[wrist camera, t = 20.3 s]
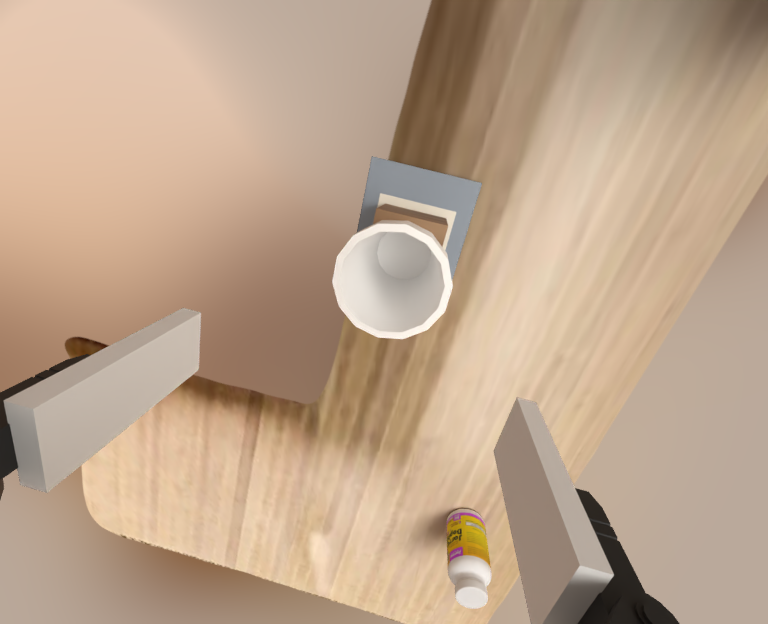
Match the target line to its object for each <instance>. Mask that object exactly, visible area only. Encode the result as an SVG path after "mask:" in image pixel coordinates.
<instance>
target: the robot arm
mask: <svg viewBox="0 0 768 624" xmlns="http://www.w3.org/2000/svg"><path fill="white" fill-rule="evenodd" d="M200 323H201V312H197V311H193V310H189V309H186V308H182V309H180V310H178V311H176V312H174V313H172V314H170V315H169V316H167V317H165V318H163V319H161V320H159V321H157V322H155V323H153V324H151V325H149V326H147V327H145V328H143V329H141V330H140V331H138V332H136V333H134V334H132V335H130V336H128V337H126V338H124V339H122V340H120V341H118V342H116V343H114V344H112V345H110V346H108V347H106V348H105V349H103V350H101V351H99V352H97V353H95V354H93V355H88V354H86V355H82V356H79V357H75V358H72V359H68V360H65V361H63V362H61V363H59V364H57V365H55V366H53V367H51V368H50V369H49V370H45V371H43V372H41V373H39V374H37V375H35V377H34V378H33V377H31V378H29V379H27V380H25V381H23V382H21V383H19V384H17V385H15V386H13V387H11V388H9V389H7V390H5V391H3V392H0V499H1V496H2V493H3V490H4V483H3V478H4V477H5V476H7V475H8V474H10V473H11V472H12V471H14V470H15V469H17V471H18V476H19V481H20V485H22V486H26V487H29V488H32V489H36V490H39V491H42V492H46V493H47V492H49V491H50V490H51V489H52V488H54V487H55V486H56V485H57V484H59V483H60V482H61V481H62V480H64V479H65V478H66V477H67V476H68V475H70V474H71V473H72V472H73V471H75V470H76V469H77V468H78V467H80V466H81V465H82V464H83V463H84V462H86V461H87V460H88V459H89V458H91V457H92V456H93V455H94V454H96V453H97V452H98V451H99V450H101V449H102V448H103V447H104V446H105V445H107V444H108V443H109V442H110V441H112V440H113V439H114V438H115V437H117V436H118V435H119V434H120V433H121V432H123V431H124V430H125V429H126V428H128V427H129V426H130V425H131V424H133V423H134V422H135V421H136V420H137V419H139V418H140V417H141V416H142V415H144V414H145V413H146V412H147V411H149V410H150V409H151V408H152V407H153V406H155V405H156V404H157V403H158V402H160V401H161V400H162V399H163V398H165V397H166V396H167V395H168V394H169V393H171V392H172V391H173V390H174V389H176V388H177V387H178V386H179V385H181V384H182V383H183V382H184V381H186V380H187V379H188V378H189V377H190V376H192V375H193V374H194V373H195V372H197V371H198V370H199V351H200V326H201V325H200ZM494 455H495V459H496V464H497V469H498V473H499V478H500V483H501V487H502V492H503V496H504V501H505V506H506V510H507V515H508V520H509V524H510V529H511V534H512V538H513V543H514V547H515V552H516V557H517V561H518V566H519V571H520V575H521V580H522V584H523V589H524V593H525V598H526V603H527V608H528V612H529V617H530V621H531V624H679V623H678V621H677V620H676V618H675V617H674V616H673V614H672V613H670V612H669V611H668V610H667V609H666V608H665V607H664V606H663V605H662V604H661V603H660V602H659V601H657V600H656V599H654V598H653V597H651V596H650V595H648V594H646V593H645V591H644V589H643V587H642V585H641V583H640V581H639V579H638V577H637V575H636V573H635V571H634V569H633V567H632V565H631V564H630V562H629V560H628V558H627V556H626V554H625V552H624V550H623V548H622V546H621V544H620V542H619V541H617V536H616V534H615V532H614V530H613V528H612V527H610V522H609V520H608V518H607V516H606V514H605V512H604V510H603V508H602V507H601V506H600V505H599V503H598V502H597V501H596V500H595V499H594V498H593V497H592V495H591V494H590V493H589V492H587V491H583V490H580V489H576V488H575V487H574V485H573V483H572V481H571V478H570V476H569V474H568V472H567V470H566V467H565V465H564V463H563V461H562V459H561V456H560V454H559V452H558V450H557V447H556V445H555V443H554V441H553V439H552V436H551V434H550V432H549V430H548V428H547V425H546V423H545V421H544V419H543V416H542V414H541V412H540V410H539V408H538V405H537V403H536V402H533V401H529V400H526V399H522V398H518V397H517V398H516V400H515V403H514V405H513V407H512V410H511V412H510V414H509V417H508V419H507V421H506V423H505V426H504V428H503V430H502V433H501V435H500V437H499V440H498V442H497V444H496V447H495V449H494Z"/></svg>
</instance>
